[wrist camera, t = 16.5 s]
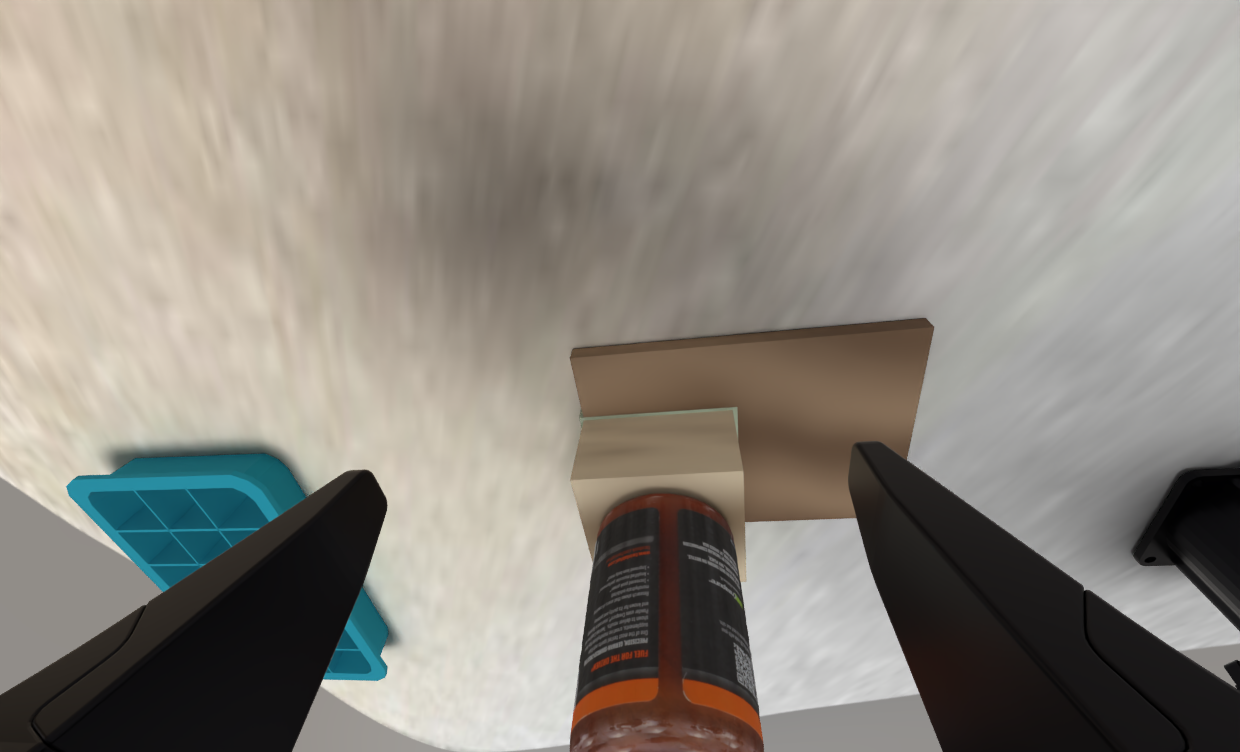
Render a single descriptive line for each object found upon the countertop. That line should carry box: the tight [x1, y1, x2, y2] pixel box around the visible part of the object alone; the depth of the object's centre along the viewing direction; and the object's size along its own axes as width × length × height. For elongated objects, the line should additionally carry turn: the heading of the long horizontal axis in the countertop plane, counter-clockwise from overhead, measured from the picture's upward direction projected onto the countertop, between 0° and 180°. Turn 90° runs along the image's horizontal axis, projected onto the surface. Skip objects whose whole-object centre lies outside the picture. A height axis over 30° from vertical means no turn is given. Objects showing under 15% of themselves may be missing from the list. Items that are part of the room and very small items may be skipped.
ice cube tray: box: [66, 453, 388, 681], centre depth 33 cm, size 12×20×3 cm, turn 6°
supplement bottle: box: [570, 493, 764, 752], centre depth 18 cm, size 6×6×11 cm
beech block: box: [570, 410, 746, 582], centre depth 24 cm, size 7×7×4 cm
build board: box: [570, 318, 934, 522], centre depth 25 cm, size 11×15×1 cm
